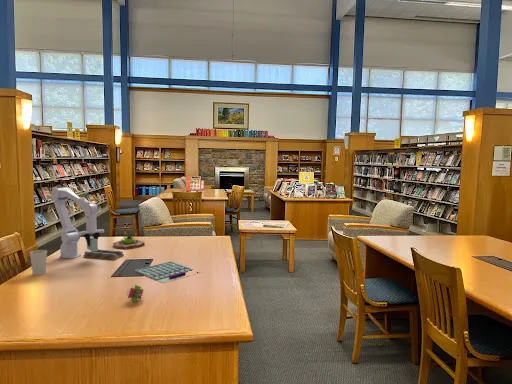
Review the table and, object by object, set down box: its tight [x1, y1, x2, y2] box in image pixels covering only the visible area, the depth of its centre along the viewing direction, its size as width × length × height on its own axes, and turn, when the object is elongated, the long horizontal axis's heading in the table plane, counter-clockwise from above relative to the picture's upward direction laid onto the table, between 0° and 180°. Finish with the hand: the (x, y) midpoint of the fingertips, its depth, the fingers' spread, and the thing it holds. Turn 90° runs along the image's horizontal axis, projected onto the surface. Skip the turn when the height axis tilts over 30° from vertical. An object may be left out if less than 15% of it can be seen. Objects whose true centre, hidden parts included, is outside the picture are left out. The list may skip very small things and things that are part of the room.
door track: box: [82, 248, 125, 261], centre depth 230 cm, size 22×10×3 cm, turn 76°
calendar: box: [133, 261, 193, 284], centre depth 202 cm, size 27×28×2 cm
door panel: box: [86, 236, 99, 252], centre depth 221 cm, size 10×3×7 cm, turn 43°
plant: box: [112, 230, 146, 251], centre depth 259 cm, size 20×20×11 cm
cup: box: [29, 249, 48, 276], centre depth 195 cm, size 8×8×12 cm
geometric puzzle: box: [126, 284, 145, 303], centre depth 160 cm, size 7×7×8 cm
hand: (91, 245), depth 222 cm, fingers closed on door panel, 3 cm apart
